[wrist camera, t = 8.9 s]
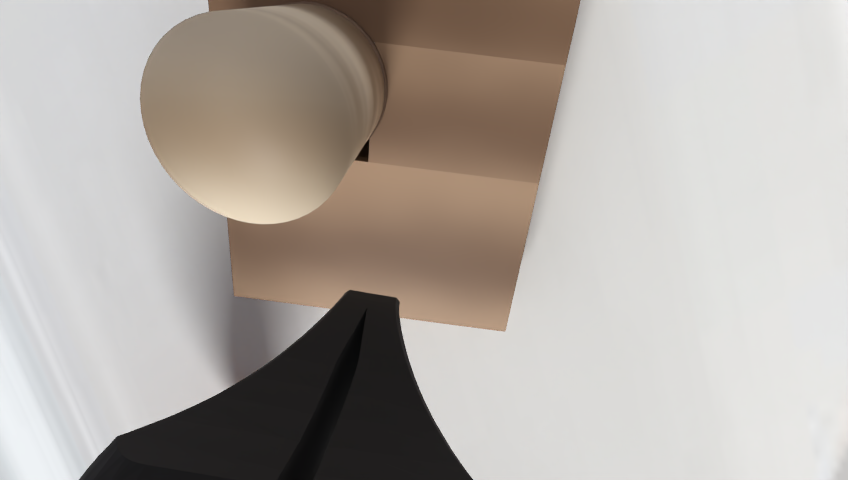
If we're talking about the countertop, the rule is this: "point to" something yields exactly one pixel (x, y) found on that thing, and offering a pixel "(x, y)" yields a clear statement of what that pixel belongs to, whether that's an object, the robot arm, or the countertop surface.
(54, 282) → the countertop surface
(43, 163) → the countertop surface
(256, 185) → the peg
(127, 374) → the countertop surface
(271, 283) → the board
